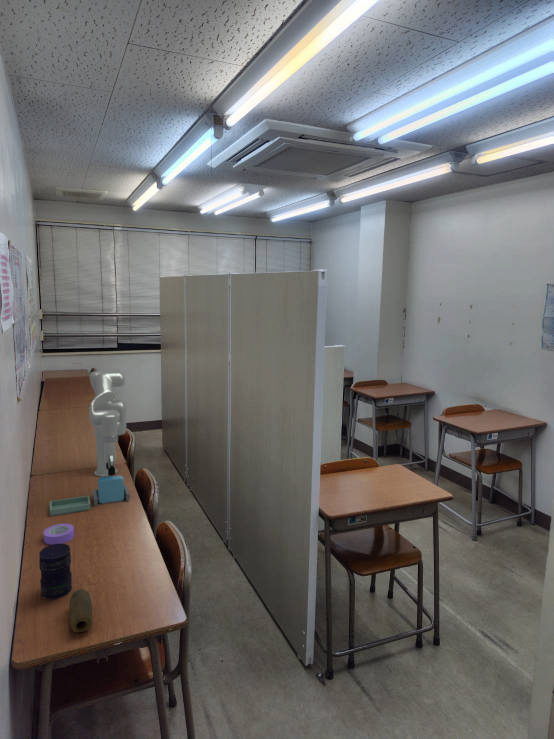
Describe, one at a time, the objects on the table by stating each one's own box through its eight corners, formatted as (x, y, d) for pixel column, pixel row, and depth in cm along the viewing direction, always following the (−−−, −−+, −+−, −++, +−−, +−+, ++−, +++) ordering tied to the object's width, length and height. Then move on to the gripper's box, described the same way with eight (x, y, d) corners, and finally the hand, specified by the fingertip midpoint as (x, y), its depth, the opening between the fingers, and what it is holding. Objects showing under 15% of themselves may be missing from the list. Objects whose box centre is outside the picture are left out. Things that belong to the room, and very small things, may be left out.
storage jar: (40, 602, 157) (37, 561, 155) (41, 585, 166) (39, 546, 164) (72, 595, 161) (70, 555, 159) (72, 579, 170) (70, 541, 168)
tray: (50, 507, 227) (49, 501, 227) (89, 501, 234) (89, 495, 234) (49, 516, 218) (49, 510, 217) (90, 510, 225) (90, 504, 225)
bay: (92, 497, 239) (92, 489, 238) (126, 492, 246) (126, 485, 245) (94, 506, 229) (94, 498, 228) (129, 501, 236) (129, 493, 235)
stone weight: (67, 609, 154) (66, 590, 153) (89, 603, 158) (89, 584, 157) (71, 638, 141) (70, 618, 140) (95, 631, 145) (95, 611, 144)
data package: (123, 497, 240) (123, 475, 238) (124, 501, 236) (123, 478, 234) (98, 500, 236) (97, 477, 234) (98, 504, 232) (97, 480, 230)
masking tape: (39, 538, 199) (39, 529, 198) (67, 528, 207) (66, 520, 207) (50, 548, 191) (50, 539, 190) (79, 538, 199) (78, 529, 199)
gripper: (100, 434, 237) (101, 467, 239) (103, 443, 221) (104, 478, 224) (115, 433, 240) (116, 465, 242) (119, 442, 225) (120, 476, 227)
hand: (110, 471), depth 233 cm, fingers open, 9 cm apart
